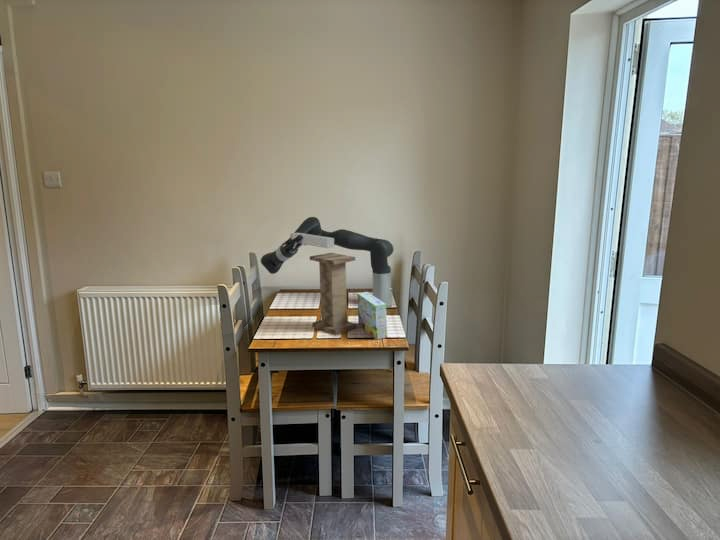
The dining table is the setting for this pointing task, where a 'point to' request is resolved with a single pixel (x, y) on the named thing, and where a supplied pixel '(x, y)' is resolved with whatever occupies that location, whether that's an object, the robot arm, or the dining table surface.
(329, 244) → the bar
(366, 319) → the snack box
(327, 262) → the stand
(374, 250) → the robot arm
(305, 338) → the dining table surface
